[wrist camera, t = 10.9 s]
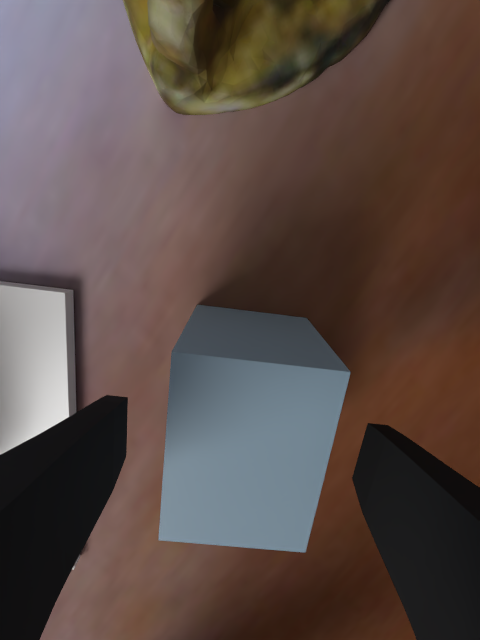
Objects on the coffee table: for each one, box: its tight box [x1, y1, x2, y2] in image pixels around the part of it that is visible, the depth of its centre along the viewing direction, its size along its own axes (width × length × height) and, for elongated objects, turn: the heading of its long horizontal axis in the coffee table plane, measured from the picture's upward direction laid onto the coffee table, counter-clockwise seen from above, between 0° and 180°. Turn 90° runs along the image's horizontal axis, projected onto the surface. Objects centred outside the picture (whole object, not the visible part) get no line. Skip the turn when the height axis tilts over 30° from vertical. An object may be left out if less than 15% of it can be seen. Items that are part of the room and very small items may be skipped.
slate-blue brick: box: [159, 305, 351, 553], centre depth 11 cm, size 6×4×5 cm
